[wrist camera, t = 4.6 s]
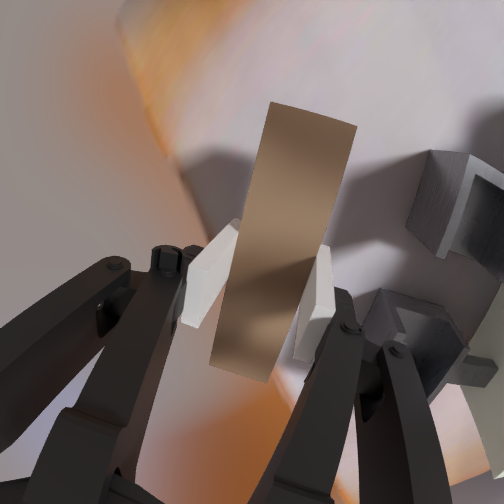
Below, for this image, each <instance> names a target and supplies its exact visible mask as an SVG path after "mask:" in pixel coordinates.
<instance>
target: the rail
mask: <svg viewBox="0 0 504 504" xmlns="http://www.w3.org/2000/svg"><path fill="white" fill-rule="evenodd" d="M356 129H357V126H355V125H352V124H349V123H346V122H343V121H340V120H336V119H333V118H330V117H327V116H323V115H320V114H317V113H313V112H309V111H306V110H302V109H298V108H294V107H291V106H287V105H282V104H278V103H274V102H270V106H269V110H268V114H267V117H266V121H265V125H264V129H263V133H262V137H261V141H260V145H259V149H258V153H257V158H256V162H255V166H254V170H253V174H252V178H251V182H250V186H249V190H248V194H247V199H246V203H245V207H244V211H243V215H242V220H241V224H240V228H239V233H238V237H237V241H236V246H235V250H234V254H233V259H232V263H231V267H230V272H229V276H228V280H227V284H226V289H225V293H224V298H223V302H222V307H221V312H220V316H219V320H218V325H217V329H216V334H215V339H214V343H213V348H212V352H211V357H210V362H209V365H211V366H214V367H217V368H220V369H223V370H226V371H229V372H232V373H235V374H238V375H241V376H244V377H247V378H251V379H254V380H257V381H261V382H264V383H267V381H268V379H269V377H270V375H271V372H272V370H273V367H274V365H275V363H276V360H277V358H278V356H279V353H280V351H281V348H282V346H283V343H284V341H285V339H286V336H287V334H288V331H289V329H290V326H291V323H292V321H293V318H294V316H295V313H296V311H297V308H298V305H299V303H300V300H301V297H302V295H303V292H304V289H305V287H306V284H307V281H308V279H309V276H310V273H311V270H312V267H313V265H314V262H315V259H316V256H317V254H318V251H319V248H320V245H321V242H322V239H323V236H324V233H325V230H326V228H327V225H328V222H329V218H330V215H331V212H332V209H333V206H334V203H335V200H336V197H337V194H338V190H339V187H340V184H341V181H342V178H343V174H344V171H345V168H346V164H347V161H348V157H349V154H350V151H351V147H352V144H353V140H354V136H355V133H356Z"/></svg>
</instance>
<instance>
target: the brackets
mask: <svg viewBox="0 0 504 504" xmlns="http://www.w3.org/2000/svg"><path fill="white" fill-rule="evenodd" d="M406 228H407V229H408V230H409V231H411V232H412V233H413V234H414V235H415V236H416V237H417V238H418V239H419V240H420V241H421V242H422V243H423V244H424V245H425V246H426V247H427V248H428V249H429V250H430V251H431V252H432V253H433V254H434V255H435V256H436V257H439V258H442V259H444V260H445V258H446V255H447V253H448V251H449V250H451V251H453V252H456V253H458V254H460V255H463V256H465V257H468V258H470V259H472V260H475V261H477V262H479V263H480V264H481V265H482V266H483V267H485V268H486V269H487V270H488V271H489V272H490V273H491V274H492V275H494V276H495V277H496V278H497V279H498V280H499V281H500V282H501V283H504V174H503V173H501V172H500V171H498V170H497V169H495V168H493V167H492V166H490V165H488V164H487V163H485V162H483V161H482V160H480V159H478V158H476V157H475V156H473V155H471V154H467V153H459V152H450V151H440V150H430V152H429V155H428V159H427V163H426V166H425V169H424V173H423V176H422V179H421V183H420V186H419V189H418V192H417V195H416V198H415V201H414V204H413V207H412V210H411V213H410V216H409V218H408V221H407V224H406ZM362 328H363V329H364V331H365V339H367V340H368V341H370V342H372V343H374V344H376V345H378V346H380V347H381V346H382V345H383V343H384V342H385V341H387V340H394V341H397V342H400V343H401V344H404V345H405V346H406V347H407V348H408V349H409V351H410V352H411V354H412V357H413V360H414V363H415V365H416V368H417V371H418V374H419V377H420V380H421V383H422V386H423V389H424V392H425V395H426V398H427V401H428V404H429V405H430V403H431V402H432V401H433V400H434V399H435V397H436V396H437V395H438V394H439V392H440V391H441V390H442V389H443V387H444V386H445V385H446V383H450V384H457V385H464V386H473V387H482V388H485V387H486V386H487V385H488V383H489V382H490V381H491V379H492V378H493V377H494V375H495V374H496V373H497V371H498V370H499V369H498V367H497V366H496V364H495V362H494V361H493V359H487V358H482V357H477V356H472V355H468V352H469V351H470V347H469V346H468V344H467V342H466V341H465V339H464V338H463V336H462V334H461V333H460V331H459V330H458V328H457V326H456V325H455V323H454V322H453V320H452V319H451V317H450V316H449V314H448V313H447V311H446V310H445V308H444V307H442V306H439V305H436V304H432V303H429V302H426V301H422V300H419V299H416V298H412V297H409V296H406V295H402V294H399V293H396V292H393V291H389V290H386V289H383V288H380V290H379V292H378V294H377V296H376V298H375V300H374V303H373V305H372V307H371V309H370V311H369V313H368V315H367V317H366V319H365V321H364V323H363V325H362Z"/></svg>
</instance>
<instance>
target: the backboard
mask: <svg viewBox="0 0 504 504" xmlns="http://www.w3.org/2000/svg"><path fill="white" fill-rule="evenodd" d="M468 346H469V347H470V351H469V352H468V355H472V356H477V357H482V358H487V359H493V361H494V362H495V364H496V366H497V367H498V369H499V370H498V371H497V373H496V374H495V375H494V377H493V378H492V379H491V381H490V382H489V383H488V385H487V386H486V387H485V388H482V387H473V386H464V385H460V387H461V389H462V392H463V394H464V396H465V399H466V401H467V403H468V406H469V408H470V411H471V413H472V416H473V418H474V421H475V423H476V426H477V429H478V431H479V434H480V437H481V440H482V443H483V446H484V449H485V452H486V455H487V458H488V461H489V464H490V467H491V471H492V474H493V478H494V479H496V478H500V477H503V476H504V283H502V284H501V286H500V288H499V290H498V292H497V294H496V296H495V298H494V300H493V302H492V304H491V306H490V308H489V310H488V311H487V313H486V315H485V317H484V319H483V320H482V322H481V324H480V325H479V327H478V329H477V331H476V332H475V334H474V336H473V337H472V339H471V340H470V342H469V344H468Z"/></svg>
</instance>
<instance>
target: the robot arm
mask: <svg viewBox="0 0 504 504" xmlns="http://www.w3.org/2000/svg"><path fill="white" fill-rule="evenodd" d="M240 224H241V220H240V219H236V218H233V219H232V220H231V221H230V223H229V224H228V225H227V226H226V227H225V228H224V229H223V230H222V231H221V232H220V233H219V234H218V235H217V236H216V237H215V238H214V239H213V240H212V241H211V242H210V243H209V244H208V245H207V246H206V247H205V248H203V247H200V246H196V245H191V246H188V247H185V248H184V249H183V250H182V249H180V248H178V247H175V246H169V245H160V246H156V247H154V248H153V249H152V256H151V268H150V270H149V272H139V271H133V270H131V263H130V262H129V260H127V259H125V258H123V257H120V256H111V257H106V258H103V259H101V260H100V261H98V262H97V263H95V264H93V265H92V266H90V267H89V268H87V269H86V270H84V271H82V272H81V273H79V274H78V275H76V276H75V277H73V278H72V279H70V280H69V281H67V282H66V283H64V284H63V285H61V286H60V287H58V288H57V289H55V290H54V291H52V292H51V293H49V294H48V295H46V296H45V297H43V298H42V299H40V300H39V301H38V302H36V303H35V304H33V305H32V306H31V307H29V308H28V309H26V310H25V311H23V312H22V313H21V314H19V315H18V316H16V317H15V318H14V319H12V320H11V321H10V322H9V323H7V324H6V325H4V326H3V327H2V328H0V453H1V452H3V451H4V450H5V449H7V448H8V447H9V446H11V445H12V444H13V443H14V442H15V441H16V440H17V439H18V438H19V437H20V436H21V435H22V434H23V432H24V431H25V430H26V429H27V428H28V427H29V426H30V425H31V423H32V422H33V421H34V420H35V419H36V418H37V417H38V416H39V415H40V414H41V412H42V411H43V410H44V409H45V408H46V407H47V406H48V405H49V404H50V403H51V402H52V400H53V399H54V398H55V397H56V396H57V395H58V394H59V393H60V392H61V391H62V390H63V389H64V388H65V387H66V385H68V383H69V382H70V381H71V380H72V379H73V378H74V377H75V376H76V375H77V374H78V373H79V372H80V371H81V370H82V369H83V368H84V367H85V366H86V365H87V363H89V362H90V360H91V359H92V358H93V357H94V356H95V355H96V354H97V353H98V352H99V351H100V350H101V349H102V348H103V347H104V346H105V347H104V349H103V351H102V353H101V355H100V356H99V358H98V360H97V362H96V364H95V366H94V368H93V370H92V372H91V374H90V376H89V377H88V379H87V382H86V383H85V386H84V387H83V389H82V392H81V394H80V396H79V398H78V400H77V402H76V403H75V405H74V406H73V407H72V408H69V407H65V408H64V409H63V410H61V412H60V413H59V415H58V416H57V418H56V420H55V423H54V425H53V427H52V429H51V431H50V433H49V435H48V437H47V440H46V442H45V444H44V446H43V449H42V451H41V453H40V455H39V458H38V460H37V463H36V465H35V468H34V470H33V473H32V475H31V477H26V478H21V479H16V480H10V481H4V482H0V504H164V503H163V502H161V501H160V500H158V499H157V498H155V497H154V496H153V495H151V494H150V493H148V492H147V491H146V490H144V489H143V488H142V487H140V486H139V485H137V484H135V474H136V466H137V462H138V458H139V454H140V450H141V446H142V443H143V439H144V435H145V431H146V428H147V424H148V420H149V417H150V413H151V410H152V406H153V402H154V399H155V395H156V392H157V388H158V385H159V382H160V379H161V375H162V372H163V369H164V365H165V362H166V359H167V356H168V353H169V349H170V346H171V343H172V340H173V337H174V334H175V331H176V327H177V319H178V317H179V316H180V315H181V313H182V317H181V323H184V324H186V325H189V326H192V327H195V328H198V327H199V326H200V324H201V322H202V320H203V319H204V317H205V316H206V314H207V312H208V311H209V309H210V307H211V306H212V304H213V302H214V301H215V299H216V297H217V296H218V294H219V293H220V291H221V289H222V288H223V286H224V284H225V283H226V281H227V279H228V276H229V272H230V267H231V263H232V259H233V254H234V250H235V246H236V241H237V237H238V233H239V228H240ZM99 304H100V306H98V305H99ZM314 355H315V362H314V363H313V365H312V367H311V369H310V371H309V373H308V375H307V377H306V379H305V381H304V382H305V384H304V386H303V389H302V391H301V394H300V396H299V398H298V401H297V403H296V405H295V408H294V410H293V412H292V415H291V417H290V419H289V421H288V424H287V426H286V428H285V431H284V433H283V435H282V437H281V439H280V441H279V443H278V445H277V447H276V450H275V451H274V454H273V456H272V458H271V460H270V462H269V464H268V466H267V468H266V470H265V472H264V474H263V475H262V477H261V479H260V481H259V483H258V485H257V487H256V489H255V491H254V492H253V494H252V496H251V498H250V500H249V501H248V503H247V504H334V500H333V499H332V498H331V497H330V493H331V489H332V486H333V483H334V480H335V476H336V473H337V470H338V466H339V462H340V459H341V455H342V451H343V448H344V444H345V440H346V436H347V432H348V427H349V423H350V419H351V414H352V409H353V405H354V409H355V421H356V433H357V448H358V466H359V498H360V504H452V498H451V493H450V487H449V482H448V477H447V472H446V468H445V463H444V459H443V455H442V451H441V447H440V443H439V439H438V435H437V432H436V428H435V424H434V421H433V417H432V414H431V411H430V407H429V404H428V401H427V398H426V395H425V392H424V389H423V386H422V383H421V380H420V377H419V374H418V371H417V368H416V365H415V363H414V360H413V357H412V354H411V352H410V351H409V349H408V348H407V347H406V346H405V345H404V344H401V343H400V342H397V341H394V340H387V341H385V342H384V343H383V345H382V346H381V347H380V346H378V345H376V344H374V343H372V342H370V341H368V340H367V339H365V331H364V329H363V328H362V326H361V325H359V324H358V323H357V322H356V318H355V312H354V306H353V300H352V296H351V295H350V294H349V292H348V291H347V290H344V289H340V288H337V287H334V284H333V274H332V264H331V255H330V246H327V245H323V244H321V245H320V248H319V251H318V254H317V256H316V259H315V262H314V265H313V267H312V270H311V273H310V276H309V279H308V281H307V284H306V287H305V289H304V292H303V295H302V297H301V300H300V307H299V315H298V323H297V331H296V339H295V346H294V353H293V359H296V360H300V361H303V362H307V363H311V361H312V359H313V357H314Z"/></svg>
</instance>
